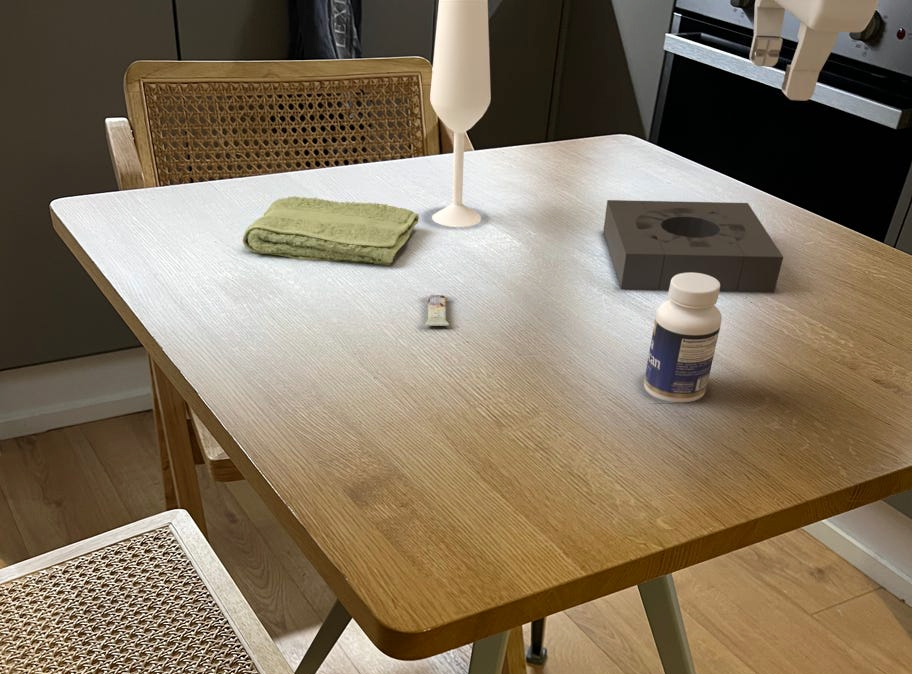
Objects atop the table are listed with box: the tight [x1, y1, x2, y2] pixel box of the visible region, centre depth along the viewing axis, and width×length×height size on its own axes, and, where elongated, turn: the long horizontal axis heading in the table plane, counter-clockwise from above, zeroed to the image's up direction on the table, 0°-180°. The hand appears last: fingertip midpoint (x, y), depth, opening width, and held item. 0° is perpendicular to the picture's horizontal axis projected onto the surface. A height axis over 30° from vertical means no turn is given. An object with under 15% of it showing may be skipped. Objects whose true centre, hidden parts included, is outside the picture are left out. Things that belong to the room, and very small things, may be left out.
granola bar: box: [424, 294, 450, 327], centre depth 95 cm, size 7×2×1 cm, turn 0°
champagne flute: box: [429, 0, 492, 228], centre depth 107 cm, size 7×7×24 cm
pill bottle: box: [643, 273, 723, 403], centre depth 82 cm, size 5×5×10 cm
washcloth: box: [242, 195, 420, 266], centre depth 108 cm, size 13×18×3 cm
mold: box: [602, 199, 784, 294], centre depth 105 cm, size 16×16×4 cm
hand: (777, 80), depth 69 cm, fingers open, 8 cm apart
